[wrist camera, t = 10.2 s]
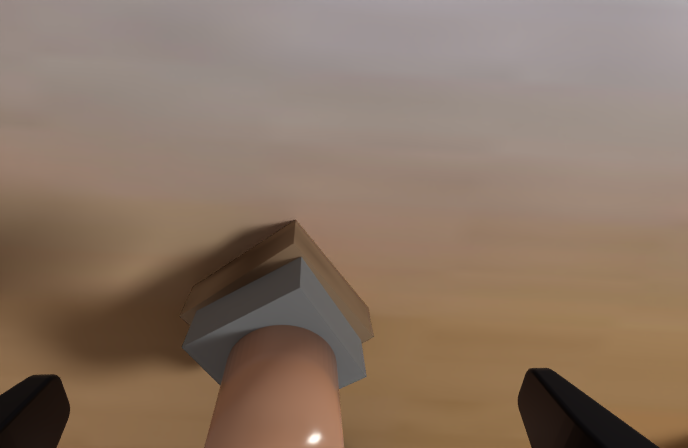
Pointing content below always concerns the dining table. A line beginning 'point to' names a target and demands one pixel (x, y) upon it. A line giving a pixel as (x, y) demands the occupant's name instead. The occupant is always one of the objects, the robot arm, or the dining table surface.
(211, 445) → the terracotta cylinder
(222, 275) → the walnut block
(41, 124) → the dining table surface
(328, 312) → the grey block
